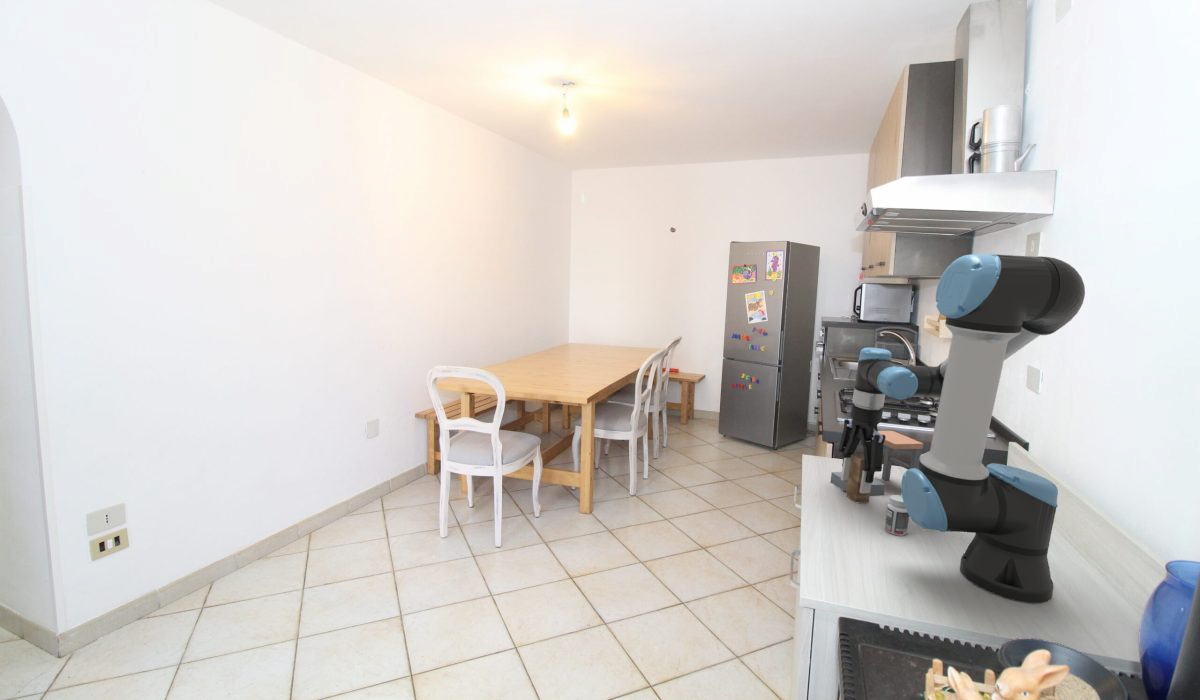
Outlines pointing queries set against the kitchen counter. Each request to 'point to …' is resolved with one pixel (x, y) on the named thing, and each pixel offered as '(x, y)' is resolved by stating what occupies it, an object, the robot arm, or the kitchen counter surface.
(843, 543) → the kitchen counter surface
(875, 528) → the kitchen counter surface
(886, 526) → the pill bottle
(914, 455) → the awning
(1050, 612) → the kitchen counter surface
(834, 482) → the socket block
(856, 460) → the peg
